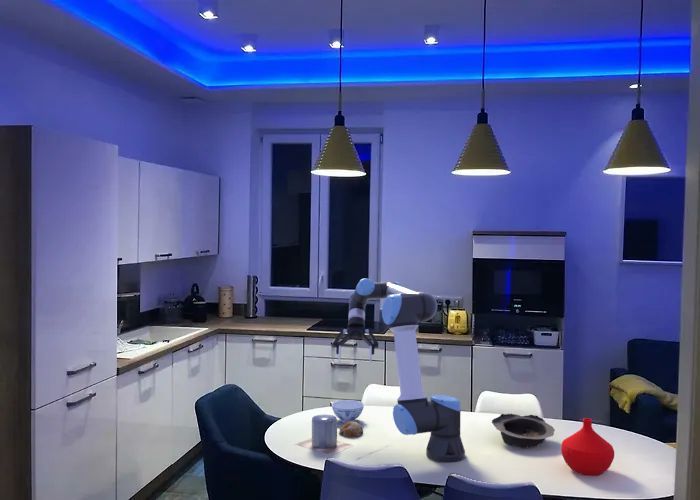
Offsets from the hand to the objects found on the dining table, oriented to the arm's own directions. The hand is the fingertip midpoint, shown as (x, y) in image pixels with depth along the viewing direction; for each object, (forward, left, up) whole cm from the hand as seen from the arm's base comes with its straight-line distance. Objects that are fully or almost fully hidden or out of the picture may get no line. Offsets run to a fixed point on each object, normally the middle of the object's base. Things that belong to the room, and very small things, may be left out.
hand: (354, 360), depth 270 cm
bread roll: (+1, +2, -33) cm, 33 cm away
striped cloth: (0, +20, -33) cm, 38 cm away
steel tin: (0, +20, -32) cm, 37 cm away
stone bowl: (-62, -36, -33) cm, 79 cm away
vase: (-93, -20, -33) cm, 100 cm away
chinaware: (+15, -14, -33) cm, 39 cm away
